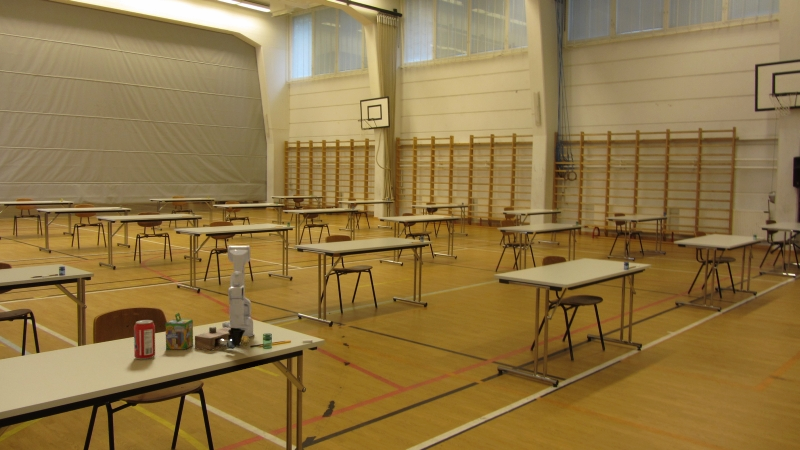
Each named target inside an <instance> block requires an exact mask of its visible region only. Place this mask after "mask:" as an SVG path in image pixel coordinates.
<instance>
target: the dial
mask: <svg viewBox="0 0 800 450" xmlns="http://www.w3.org/2000/svg"><path fill="white" fill-rule="evenodd" d="M216 330H217V327H216V326H211V327H209V328H208V332H209V333H215V332H216Z"/></svg>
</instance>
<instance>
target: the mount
mask: <svg viewBox="0 0 800 450" xmlns="http://www.w3.org/2000/svg"><path fill="white" fill-rule="evenodd" d="M230 329H231V328H226V327H225V328H223V327H221V328H219V329H216V332H215V333H209V331H207V332H204V333H200V334H196V335H194V348H195V349H197V348H199V349H198V350H204V351H214V350H217V349H221V348H224V347H225V346H219V345H215V339H216V338H217V339H224V340H228V335H230V333H229V332H228V330H230Z"/></svg>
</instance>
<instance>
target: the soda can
mask: <svg viewBox="0 0 800 450" xmlns="http://www.w3.org/2000/svg"><path fill="white" fill-rule="evenodd" d="M133 341H134V342H133V345H134V348H133V349H134V350H133V351H134V352H133V353H134V358H135V359H137V360H139V361H140V360H141V361H142V360H149V359H153V357H155V356H156V325H155V323H154V320H151V319H142V320H138V321H135V324H134V326H133Z"/></svg>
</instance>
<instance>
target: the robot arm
mask: <svg viewBox="0 0 800 450" xmlns="http://www.w3.org/2000/svg"><path fill="white" fill-rule="evenodd" d="M227 258H228V261H229V262H230V263H233V264H232V265H233V272H232V273H231V274H230V280H229V281H230V282H229V283H230V284H229V287H228V290H227V293H228V296H227V297H228V302H229V303H228V304H229V305H228V313H229V314H228V315H229V322H227V321H226V322H222V327H221V328H230V330H228V332H229V333H230V335H231V337H232V340H233V344H234V346H236V347H239V346H241V343H240V342H241V338H242V336H248V337H249V338H251V337H253V335H254V336H255V334H254V321H253V318H252V317H251V316H252V303H251V302H252V301H251V300H250V299H249V298H247V297H246V290H245V289H246V288H245V287H246V285H245V284H246V281H245V280H246V279H245V278H246V277H245V276H246V273H245V270H246V268H245V266H246V264H247V263H249V262H250V261H251V246H250V245H249V244H248V245H228V246H227Z"/></svg>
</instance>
